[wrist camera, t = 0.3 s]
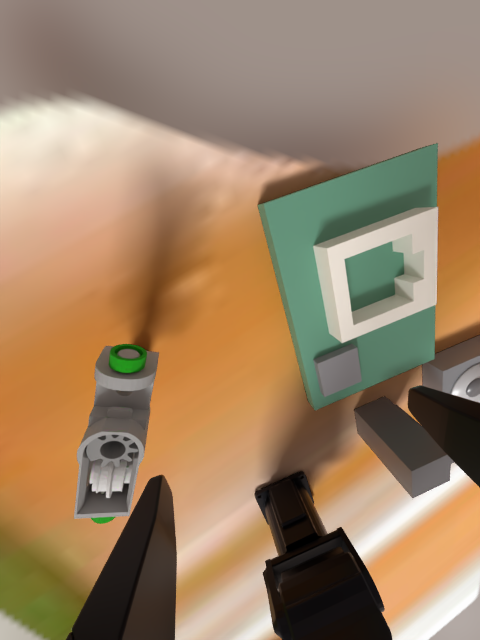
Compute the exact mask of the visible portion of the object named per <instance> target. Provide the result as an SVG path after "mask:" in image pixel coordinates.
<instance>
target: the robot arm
mask: <svg viewBox="0 0 480 640" xmlns="http://www.w3.org/2000/svg"><path fill="white" fill-rule="evenodd" d="M408 408H409V411H410V412H411V414H412V415H413V416H414V417H415V418H416V420H417V421H418V422H419V423H420V424H421V425H422V427H423V428H424V429H425V430H426V431H427V432H428V434H429V435H430V436H431V437H432V438H433V440H434V441H435V442H436V443H437V444H438V445H439V447H440V448H441V449H442V450H443V451H444V452H445V453H446V454H447V455H448V456H449V457H450V458H451V459H452V460H453V461H454V462H455V463H456V464H457V465H458V466H459V467H460V468H461V469H462V470H463V471H464V472H465V473H466V474H467V475H468V476H469V477H470V478H471V479H472V480H473V481H474V482H475V483H476V484H477V485H478V486H479V487H480V403H479V402H476V401H472V400H469V399H466V398H462V397H459V396H455V395H452V394H449V393H445V392H442V391H439V390H435V389H432V388H429V387H425V386H421V385H420V386H416V387H413V388H411V389H410V390H409V394H408ZM255 498H256V500H257V503H258V505H259V507H260V509H261V511H262V513H263V515H264V517H265V519H266V522H267V524H268V525H269V526H270V529H271V533H272V536H273V539H274V543H275V546H276V549H277V553H278V557H275V558H273V559H271V560H270V559H268V560H266V561H265V563H266V569H265V571H264V572H263V576H264V580H265V584H266V588H267V593H268V598H269V605H270V611H271V617H272V624H273V628H274V632H275V633H276V634H277V635H278V636H279V637H280V638H282V640H392V635H391V631H390V629H389V627H388V625H387V623H386V621H385V619H384V617H383V615H382V613H381V612H383V611H384V610H385V609H384V605H383V602H382V600H381V597H380V595H379V592H378V590H377V588H376V586H375V583H374V581H373V579H372V577H371V575H370V574H369V572H368V570H367V568H366V566H365V565H364V563H363V561H362V560H361V558H360V557H359V555H358V553H357V552H356V550H355V548H354V547H353V545H352V544H351V542H350V540H349V539H348V537H347V535H346V534H345V532H344V531H343V529H342V527H339V528H337V530H335V531H333V532H331V533H329V534H327V531H326V529H325V527H324V525H323V523H322V521H321V519H320V517H319V515H318V513H317V511H316V508H315V506H314V501H313V497H312V494H311V491H310V488H309V485H308V481H307V478H306V475H305V473H304V472H299V473H296V474H294V475H292V476H290V477H288V478H285V479H283V480H281V481H279V482H276V483H274V484H272V485H270V486H268V487H265V488H263V489H261V490H259V491H257V492H256V493H255ZM176 567H177V552H176V536H175V522H174V508H173V496H172V492H171V489H170V487H169V485H168V483H167V481H166V478H165V477H164V475H159V476H156V477H153V478H151V479H150V480H149V481H148V483H147V485H146V487H145V489H144V491H143V493H142V495H141V497H140V499H139V501H138V502H137V504H136V506H135V508H134V510H133V512H132V514H131V516H130V518H129V520H128V522H127V524H126V525H125V527H124V529H123V531H122V533H121V535H120V537H119V539H118V541H117V543H116V545H115V547H114V549H113V550H112V552H111V554H110V556H109V558H108V560H107V562H106V564H105V566H104V568H103V570H102V572H101V574H100V575H99V577H98V579H97V581H96V583H95V585H94V587H93V589H92V591H91V593H90V595H89V597H88V598H87V600H86V602H85V604H84V606H83V608H82V610H81V612H80V614H79V616H78V618H77V620H76V622H75V623H74V625H73V627H72V632H70V633H69V635H68V637H67V639H66V640H175V609H176Z"/></svg>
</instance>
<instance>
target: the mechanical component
mask: <svg viewBox="0 0 480 640" xmlns="http://www.w3.org/2000/svg"><path fill="white" fill-rule="evenodd" d="M158 356H159V352H151V351H147V350H145V349H144V348H142V347H140V346H137V345H132V344H121V345H117V346H114V347H113V346H105V348H104V349H103V351H102V353H101V354H100V356H99V358H98V360H97V362H96V367H95V380H96V381H97V384H96V392H95V401H94V407H93V409H92V412H91V414H90V416H89V425H88V428H87V430H86V432H85V435H84V437H83V439H82V442H81V444H80V446H79V449H78V451H77V461H78V463H79V474H78V484H77V494H76V504H75V514H74V519H76V518H91V519H92V520H93V521H94V522H96V523H99V524H103V523H107V522H109V521H111V520H113V519H114V518H115V517H117V516H129V514H130V509H131V504H132V499H133V493H134V488H135V483H136V478H137V473H138V467H139V464H140V463H141V462H142V460H143V457H144V451H145V444H146V437H147V430H148V423H149V416H150V400H151V395H152V389H153V384H154V379H155V375H156V370H157V363H158Z"/></svg>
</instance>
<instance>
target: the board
mask: <svg viewBox="0 0 480 640" xmlns="http://www.w3.org/2000/svg"><path fill="white" fill-rule="evenodd" d="M437 154H438V144H437V143H436V144H433V145H429V146H426V147H422V148H419V149H416V150H413V151H411V152H408V153H405V154H402V155H399V156H396V157H393V158H391V159H388V160H385V161H382V162H379V163H376V164H373V165H371V166H368V167H365V168H362V169H359V170H356V171H353V172H350V173H348V174H345V175H342V176H339V177H336V178H333V179H330V180H328V181H325V182H322V183H319V184H316V185H313V186H310V187H308V188H305V189H302V190H299V191H296V192H293V193H290V194H288V195H285V196H282V197H279V198H276V199H273V200H270V201H268V202H265V203H262V204H259V205H258V209H259V213H260V217H261V220H262V224H263V228H264V232H265V236H266V240H267V244H268V248H269V251H270V255H271V259H272V263H273V267H274V271H275V275H276V279H277V282H278V286H279V290H280V294H281V298H282V302H283V306H284V310H285V313H286V317H287V321H288V325H289V329H290V333H291V337H292V341H293V345H294V348H295V352H296V356H297V360H298V364H299V368H300V372H301V376H302V379H303V383H304V387H305V391H306V395H307V399H308V402H309V403H310V404H311V406H312V407H313V409H314V410H317V409H320V408H322V407H324V406H327V405H329V404H331V403H334V402H336V401H338V400H341V399H343V398H345V397H348V396H350V395H352V394H355V393H357V392H359V391H361V390H364V389H366V388H368V387H371V386H373V385H375V384H378V383H380V382H382V381H385V380H387V379H389V378H392V377H394V376H396V375H399V374H401V373H403V372H406V371H408V370H410V369H413V368H415V367H417V366H419V365H422V364H424V363H426V362H429V361H431V360H433V359H435V305H436V304H437V247H438V207H437Z"/></svg>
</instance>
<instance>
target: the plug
mask: <svg viewBox="0 0 480 640" xmlns="http://www.w3.org/2000/svg"><path fill="white" fill-rule="evenodd" d="M354 412H355V419H356V425H357V431H358V434H359V435H360V436H361V438H362V439H363V440H364V441H365V442H366V444H367V445H368V446H369V447H370V448H371V450H372V451H373V452H374V453H375V454H376V455H377V457H378V458H379V459H380V460H381V461H382V463H383V464H384V465H385V466H386V467H387V469H388V470H389V471H390V472H391V473H392V474H393V476H394V477H395V478H396V479H397V480H398V482H399V483H400V484H401V485H402V486H403V487H404V489H405V490H406V491H407V492H408V493H409V495H410V496H411V497H412V498H414V497H416V496H418V495H421V494H423V493H425V492H427V491H429V490H431V489H433V488H435V487H437V486H439V485H441V484H443V483H446V482H448V481H450V466H451V463H454V461H453V460H452V459H451V458H450V457H449V456H448V455H447V454H446V453H445V452H444V451H443V450H442V449H441V448H440V447H439V445H438V444H437V443H436V442H435V441H434V440H433V438H432V437H431V436H430V435H429V434H428V432H427V431H426V430H425V429H424V428H423V427H422V426H421V425H420V424H419V423H418V422H416V421H415V420H414V419H413V418H412V417H411V416H409V415H408V414H407V413H406V412H405V411H403V410H402V409H401V408H400V407H399V406H398V405H395V404H393V403H392V402H391V401H390V400H389V399H388V398H386V397H385V396H384V397H382V398H379V399H377V400H375V401H372V402H370V403H368V404H366V405H363V406H361V407H359V408H356V409H354Z"/></svg>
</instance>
